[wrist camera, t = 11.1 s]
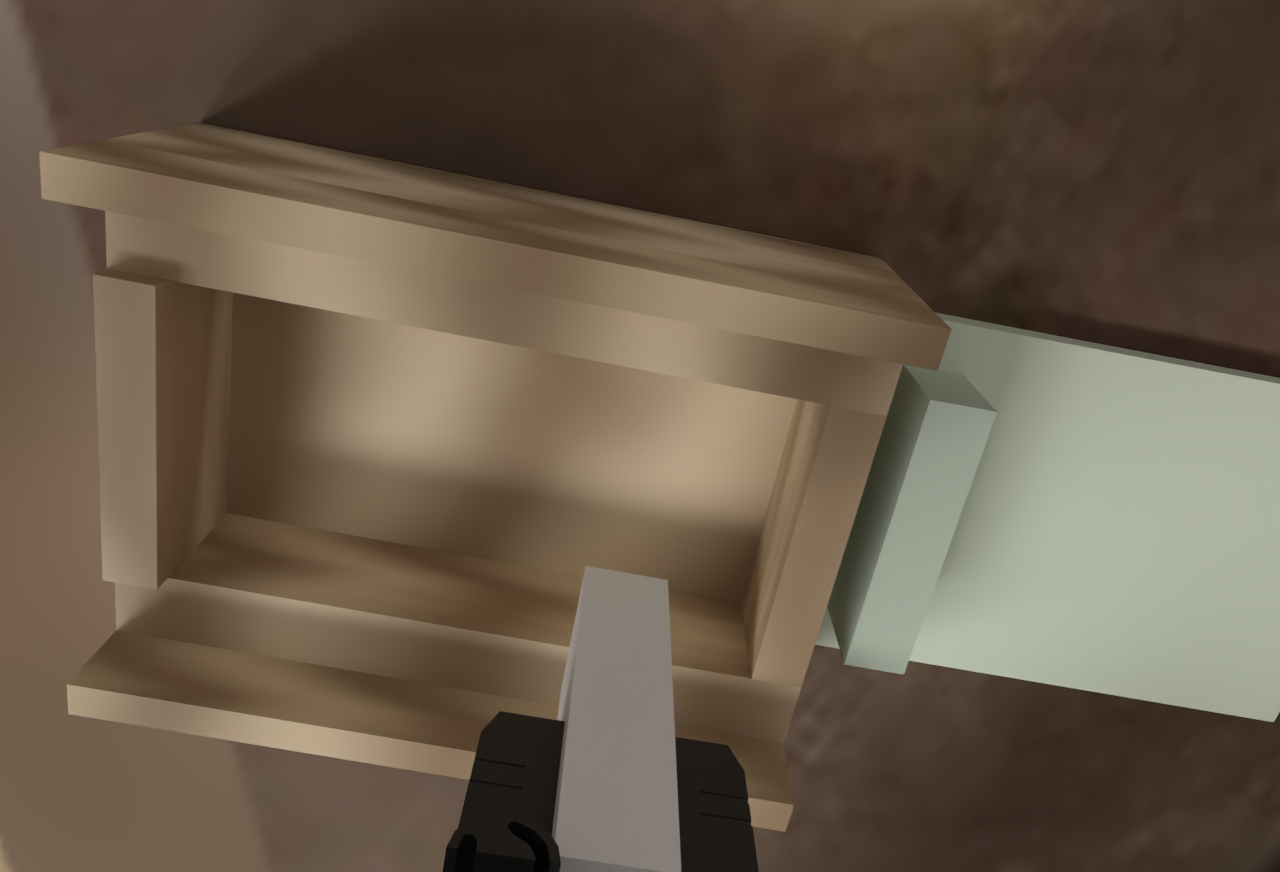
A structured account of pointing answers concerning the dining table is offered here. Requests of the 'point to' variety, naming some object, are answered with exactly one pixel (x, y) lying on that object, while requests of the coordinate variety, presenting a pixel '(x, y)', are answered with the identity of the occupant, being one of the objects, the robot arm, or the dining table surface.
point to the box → (459, 446)
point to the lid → (1072, 524)
